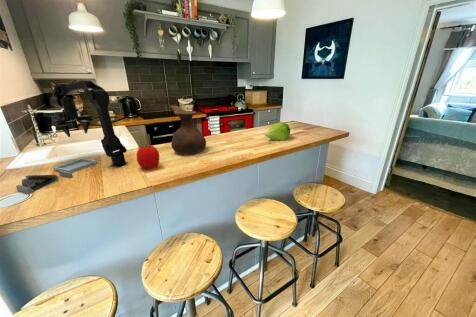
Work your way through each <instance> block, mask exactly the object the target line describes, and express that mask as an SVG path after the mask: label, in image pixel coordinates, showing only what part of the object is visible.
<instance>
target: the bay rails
mask: <svg viewBox="0 0 476 317" xmlns="http://www.w3.org/2000/svg"><path fill="white" fill-rule="evenodd" d="M58 173H59V176H60V177H64V178H69V179H72V178H73V177H74V176H73V173H70V172H66V171H59V172H58ZM15 188H16V189H17V192H20V193H23V194H27V195H31V194H33V191H31V190H30V188H28V187H25V186H22V184H18V185H15Z"/></svg>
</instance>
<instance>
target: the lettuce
mask: <svg viewBox="0 0 476 317" xmlns="http://www.w3.org/2000/svg"><path fill="white" fill-rule="evenodd" d="M264 136H265V137H266V138H268V139H270V140H272V141H279V142H282V141H286V140H287V139H289V137H290V136H291V127H290V125H289V124H288V123H287V122H283V121H282V122H281V121H280V122H276V123H274V124H272V125H271V126H270V127H269V128H268V130H267V131H266V132H265V133H264Z"/></svg>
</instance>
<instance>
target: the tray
mask: <svg viewBox="0 0 476 317" xmlns="http://www.w3.org/2000/svg"><path fill="white" fill-rule="evenodd" d="M98 164H99V163H98V160H96V159H90V158H84V157H81V158H79V159H75V160H72V161H69V162H67V163H64V164H61V165H57V166H55V167H54V166H53V171H54V172H57V173H59V171H66V172H70V173H72V174H73V173H75V172H78V171H81V170H84V169H86V168H89V167H92V166H95V165H98Z"/></svg>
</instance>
